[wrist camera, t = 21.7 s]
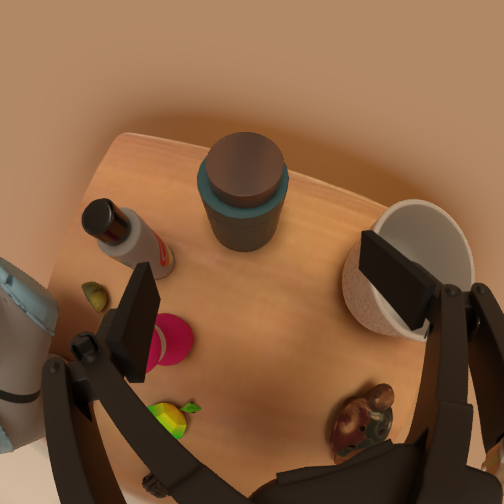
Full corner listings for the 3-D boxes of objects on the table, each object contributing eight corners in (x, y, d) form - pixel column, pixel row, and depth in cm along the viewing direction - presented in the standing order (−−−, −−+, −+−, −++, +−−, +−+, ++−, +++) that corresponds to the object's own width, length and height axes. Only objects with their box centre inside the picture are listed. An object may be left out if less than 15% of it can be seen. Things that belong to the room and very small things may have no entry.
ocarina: (390, 377, 37) (417, 389, 29) (360, 454, 35) (379, 475, 27) (340, 371, 37) (361, 385, 29) (310, 452, 35) (323, 478, 27)
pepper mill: (143, 325, 39) (67, 323, 20) (183, 306, 40) (129, 290, 21) (164, 368, 37) (99, 399, 18) (205, 349, 38) (167, 373, 19)
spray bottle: (174, 241, 42) (123, 181, 23) (176, 277, 41) (121, 238, 22) (141, 246, 42) (75, 193, 23) (142, 281, 41) (70, 247, 21)
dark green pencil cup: (205, 245, 42) (186, 209, 29) (219, 187, 45) (210, 135, 31) (270, 257, 42) (281, 226, 28) (280, 197, 45) (293, 147, 31)
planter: (402, 349, 38) (461, 355, 24) (313, 320, 40) (348, 317, 25) (424, 256, 42) (479, 230, 28) (344, 221, 44) (383, 176, 29)
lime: (108, 315, 39) (92, 313, 34) (86, 305, 39) (69, 303, 34) (115, 289, 40) (100, 284, 35) (92, 280, 40) (77, 275, 36)
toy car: (201, 472, 33) (197, 485, 29) (161, 501, 30) (154, 513, 26) (172, 450, 34) (165, 461, 30) (134, 480, 31) (125, 491, 27)
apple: (142, 446, 28) (182, 411, 29) (128, 413, 32) (164, 378, 34) (177, 453, 32) (215, 420, 34) (161, 424, 37) (196, 392, 38)
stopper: (207, 218, 34) (196, 189, 26) (221, 165, 36) (216, 127, 28) (271, 230, 34) (278, 202, 26) (280, 174, 36) (288, 138, 28)
